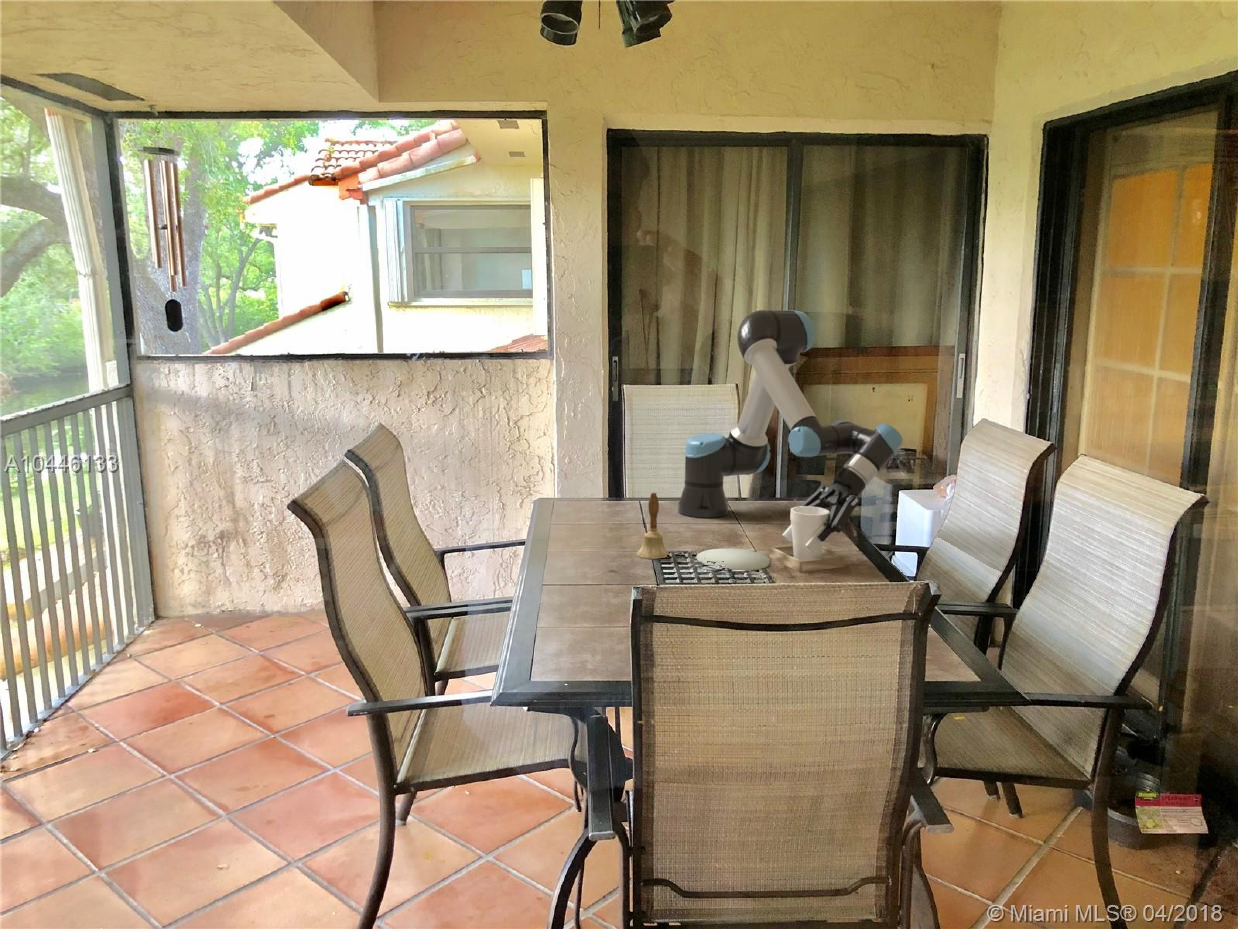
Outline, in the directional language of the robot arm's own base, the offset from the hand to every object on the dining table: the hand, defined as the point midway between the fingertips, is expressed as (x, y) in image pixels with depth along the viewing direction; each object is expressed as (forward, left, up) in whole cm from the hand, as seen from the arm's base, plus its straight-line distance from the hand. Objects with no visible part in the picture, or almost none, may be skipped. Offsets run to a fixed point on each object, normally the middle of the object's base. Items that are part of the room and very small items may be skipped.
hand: (797, 543), depth 222 cm
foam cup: (+1, +3, -5) cm, 6 cm away
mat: (-11, -11, -5) cm, 16 cm away
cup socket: (+1, +3, -5) cm, 6 cm away
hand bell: (-27, -23, -5) cm, 36 cm away
